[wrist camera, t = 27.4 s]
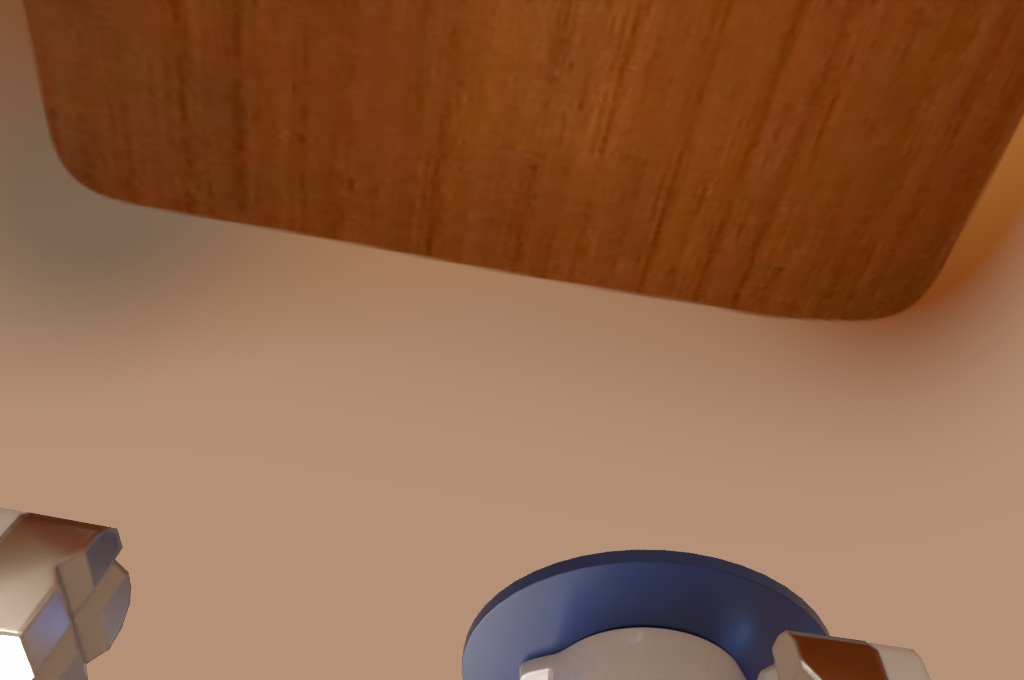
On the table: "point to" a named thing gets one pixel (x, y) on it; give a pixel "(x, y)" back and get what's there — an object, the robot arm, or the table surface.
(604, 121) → the table surface
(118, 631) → the robot arm
